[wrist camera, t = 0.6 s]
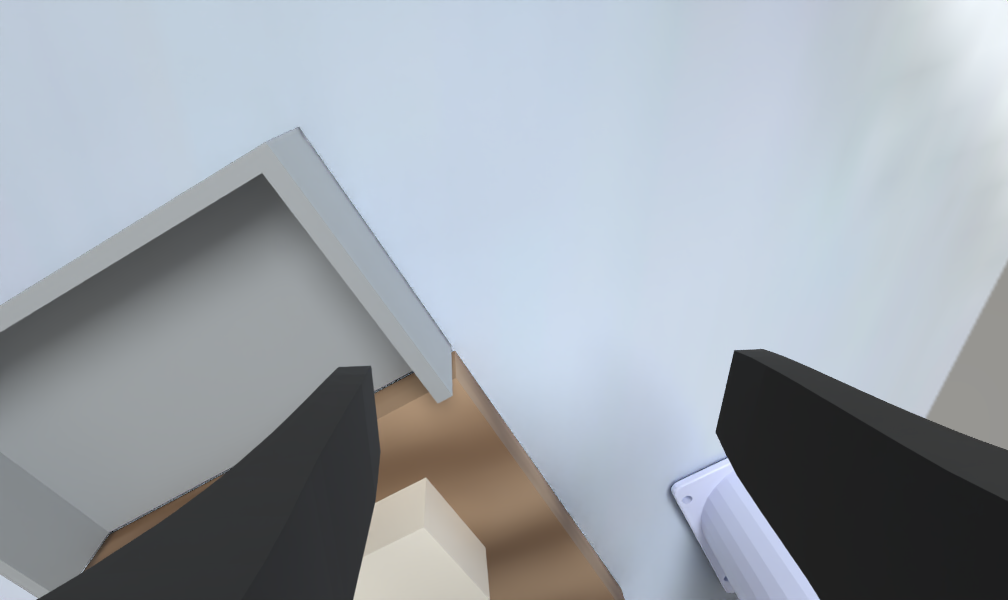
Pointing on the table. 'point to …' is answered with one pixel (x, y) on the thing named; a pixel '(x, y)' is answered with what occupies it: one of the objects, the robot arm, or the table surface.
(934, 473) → the robot arm
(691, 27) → the table surface
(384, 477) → the walnut plate
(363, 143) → the table surface
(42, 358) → the box
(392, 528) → the cream tile
